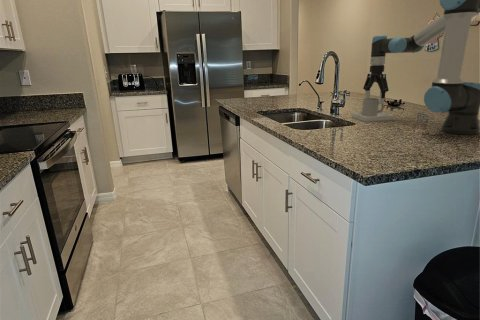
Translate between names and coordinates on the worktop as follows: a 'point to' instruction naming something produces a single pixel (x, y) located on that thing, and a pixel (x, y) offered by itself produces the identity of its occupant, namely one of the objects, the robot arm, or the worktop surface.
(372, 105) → the mug
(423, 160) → the worktop surface
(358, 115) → the tray
